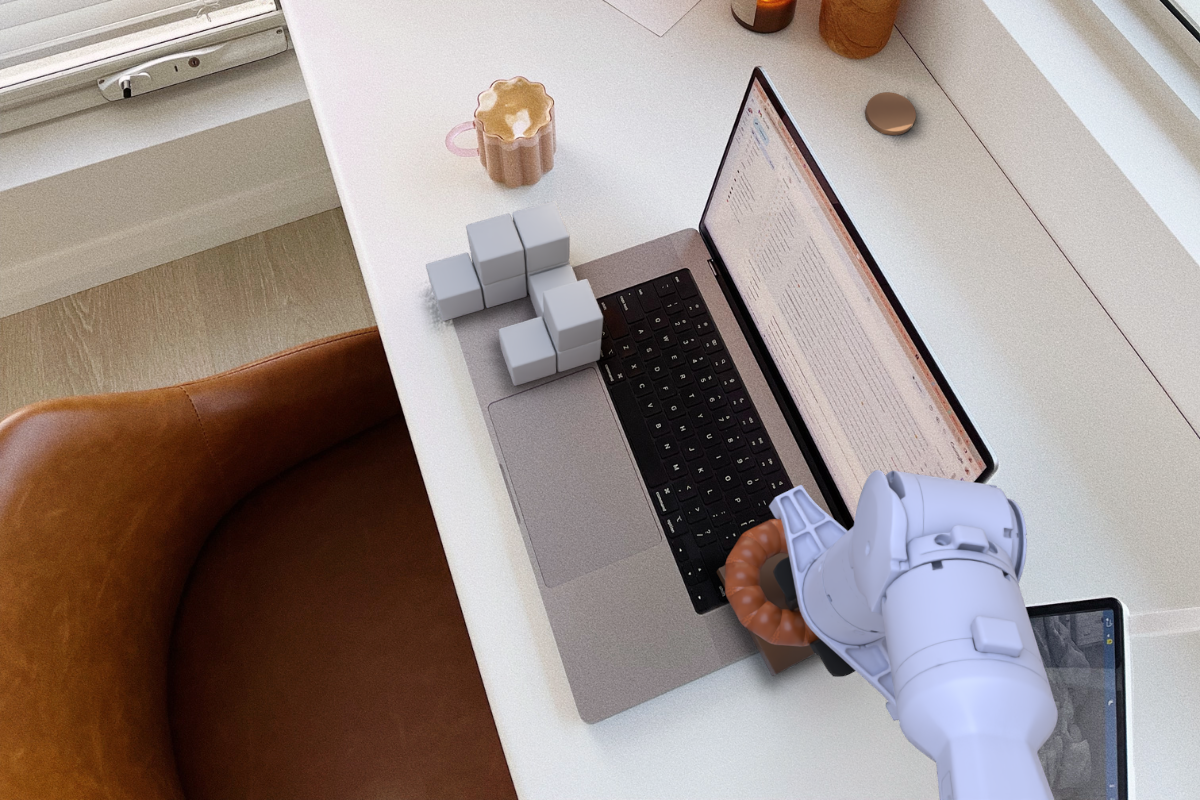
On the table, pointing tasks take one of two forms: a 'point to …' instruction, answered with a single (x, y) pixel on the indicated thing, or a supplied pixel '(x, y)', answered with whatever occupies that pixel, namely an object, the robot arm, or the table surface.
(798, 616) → the ring
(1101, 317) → the table surface
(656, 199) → the table surface
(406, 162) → the table surface
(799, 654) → the peg stand
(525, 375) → the puzzle cube
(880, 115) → the coaster
